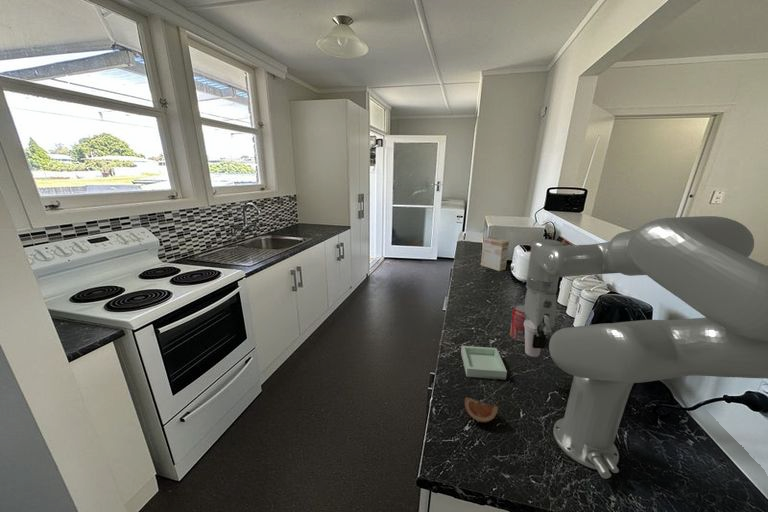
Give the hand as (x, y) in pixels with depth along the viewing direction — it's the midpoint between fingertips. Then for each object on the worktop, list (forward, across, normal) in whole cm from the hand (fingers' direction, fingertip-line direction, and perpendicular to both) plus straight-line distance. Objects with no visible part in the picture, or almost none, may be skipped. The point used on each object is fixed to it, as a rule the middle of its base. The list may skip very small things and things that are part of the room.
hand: (533, 340), depth 81 cm
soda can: (+14, +24, -6) cm, 29 cm away
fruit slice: (+15, -15, +17) cm, 27 cm away
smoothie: (+4, 0, 0) cm, 4 cm away
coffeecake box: (+11, +109, -17) cm, 111 cm away
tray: (+14, +6, +12) cm, 20 cm away
